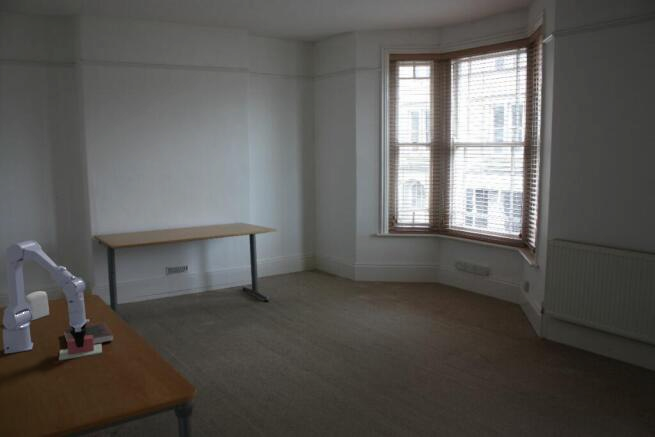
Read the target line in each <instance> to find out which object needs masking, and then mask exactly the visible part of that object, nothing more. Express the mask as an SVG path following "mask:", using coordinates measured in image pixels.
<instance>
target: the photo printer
mask: <svg viewBox="0 0 655 437" xmlns="http://www.w3.org/2000/svg"><path fill="white" fill-rule="evenodd" d="M25 303H27V304H29V305H30V310H31V312H32V314H33V318H32V320H31V321H30V322H32V321H35V320H38V319H41V318H44V317H46V316H49V315H50V307H49V299H48V294H47V292H46V291H44V290H43V291H42V290H38V291H34V292H30V293H28V294H27V295H25Z"/></svg>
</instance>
